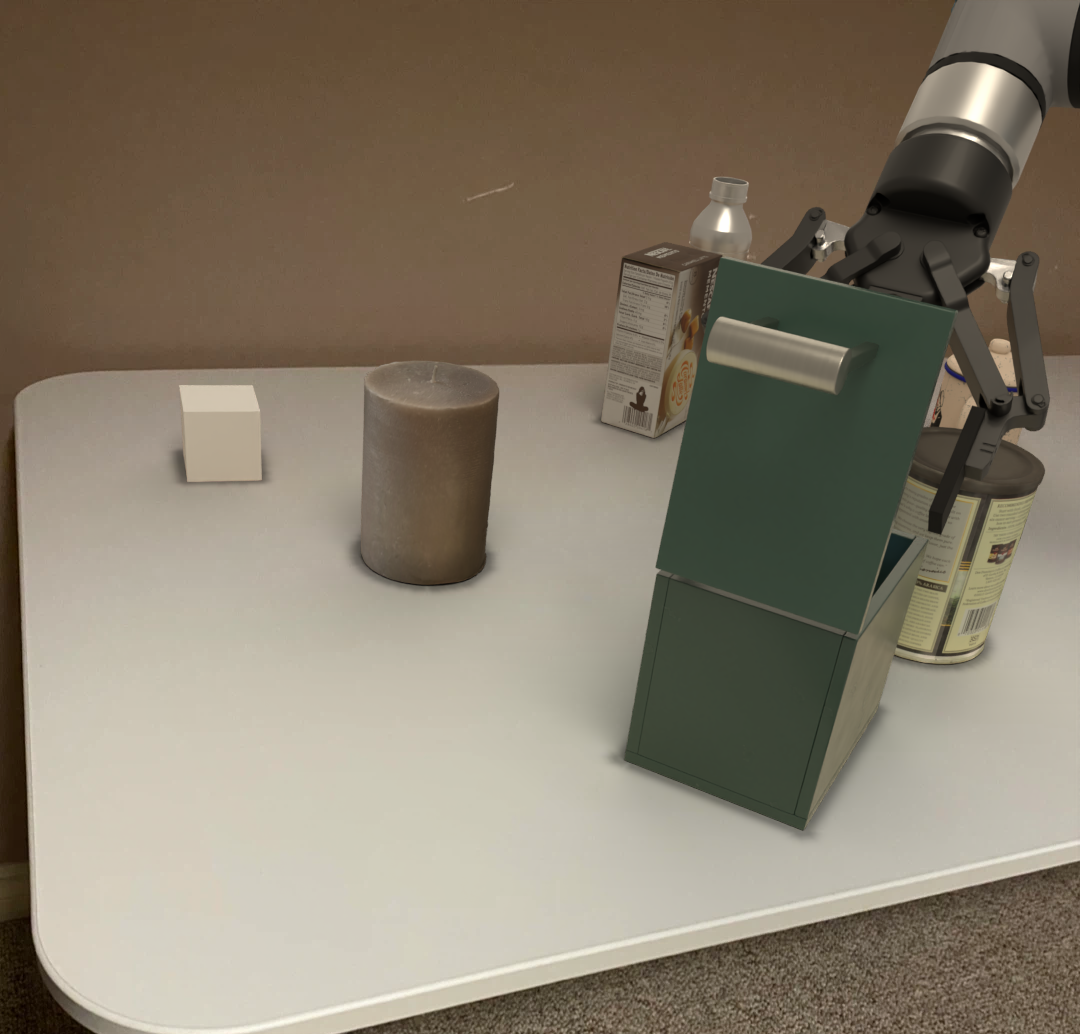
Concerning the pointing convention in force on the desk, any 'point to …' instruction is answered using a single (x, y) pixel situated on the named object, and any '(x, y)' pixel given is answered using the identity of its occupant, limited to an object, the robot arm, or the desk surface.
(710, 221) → the silver metal bottle
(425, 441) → the pillar candle
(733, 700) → the trash can
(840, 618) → the trash lid
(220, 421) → the cream cube
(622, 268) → the printed cardboard box
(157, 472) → the desk surface
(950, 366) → the teacup with lid
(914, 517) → the coffee can
